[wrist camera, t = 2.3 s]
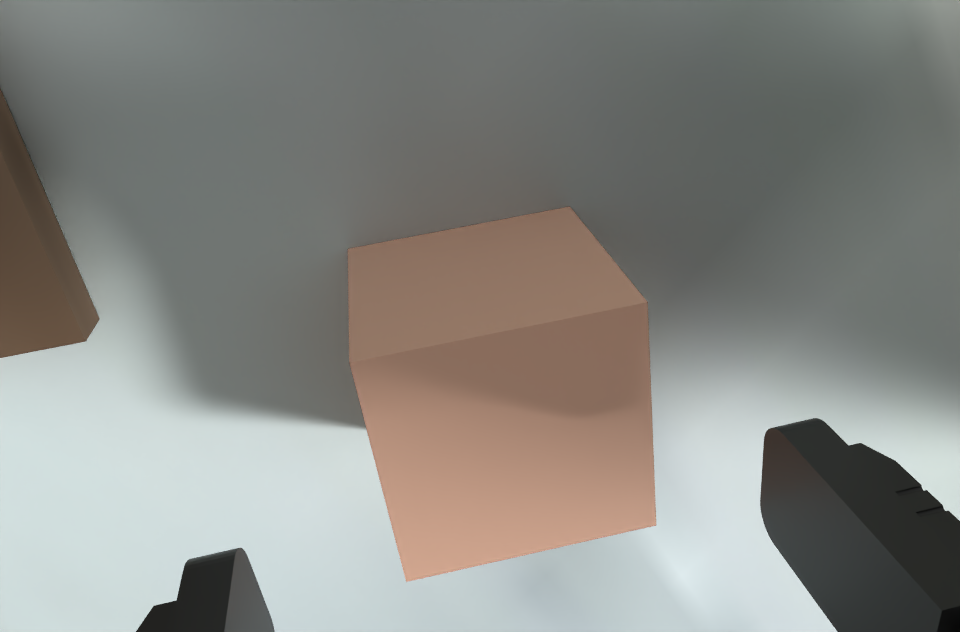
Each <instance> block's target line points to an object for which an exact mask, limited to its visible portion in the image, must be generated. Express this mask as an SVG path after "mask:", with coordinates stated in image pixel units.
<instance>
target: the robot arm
mask: <svg viewBox="0 0 960 632" xmlns="http://www.w3.org/2000/svg"><path fill="white" fill-rule="evenodd" d="M921 486H922V485H921V484H919V483H918V482H917V481H916V480H915V479H914V478H913V477H912V476H911V475H910V474H909V473H908V472H907V471H906V470H905V469H903V468H902V467H901V466H900V465H899V464H898V463H897V462H896V461H894V460H893V459H891V458H889V457H887V456H885V455H883V454H881V453H879V452H877V451H875V450H873V449H871V448H869V447H867V446H865V445H864V444H862V443H858V444H854V445H850V446H848V445H847V444H846V443H845V442H844V441H843V440H842V439H841V438H840V437H839V436H838V435H837V434H836V433H835V432H834V431H833V430H832V429H831V428H830V427H829V426H828V425H827V424H826V423H825V422H824V421H822V420H820V419H818V418H813V419H809V420H805V421H800V422H796V423H791V424H787V425H783V426H778V427H774V428H770V429H768V430H767V432H766V434H765V437H764V450H763V466H762V483H761V499H760V506H761V513H762V518H763V521H764V525H765V527H766V530H767V532H768V534H769V536H770V538H771V540H772V542H773V543H774V545H775V546H776V548H777V549H778V550H779V552H780V553H781V554H782V556H783V557H784V559H785V560H786V561H787V563H788V564H789V566H790V567H791V568H792V570H793V571H794V572H795V574H796V575H797V577H798V578H799V579H800V581H801V582H802V583H803V585H804V586H805V588H806V589H807V590H808V592H809V593H810V594H811V596H812V597H813V599H814V600H815V601H816V603H817V604H818V605H819V607H820V608H821V610H822V611H823V612H824V614H825V615H826V616H827V618H828V619H829V621H830V622H831V623H832V625H833V626H834V627H835V629H836V630H837V632H960V521H959V520H958V519H957V518H956V517H955V516H954V515H953V514H951V513H950V512H949V511H945V510H944V509H943V505H942V504H941V503H940V502H939V501H938V500H937V499H935V498H934V497H933V496H932V495H931V494H930V493H929V492H928V491H927V490H926V491H923V489H922V487H921ZM136 632H274V627H273V623H272V619H271V616H270V614H269V611H268V608H267V606H266V603H265V601H264V598H263V595H262V593H261V590H260V588H259V585H258V582H257V580H256V577H255V575H254V572H253V569H252V567H251V564H250V562H249V559H248V557H247V554H246V553H245V551H244V550H243V549H242V548H237V549H232V550H228V551H223V552H219V553H215V554H210V555H206V556H202V557H197V558H193V559H189V560H188V561H187V562H186V564H185V566H184V570H183V574H182V579H181V583H180V588H179V592H178V597H177V601H173V602H169V603H164V604H160V605H156V606H153V608H152V609H151V611H150V612H149V614H148V615H147V617H146V618H145V619H144V621H143V622H142V624H141V625H140V627H139V628H138V630H137V631H136Z"/></svg>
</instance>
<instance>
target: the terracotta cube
mask: <svg viewBox="0 0 960 632" xmlns="http://www.w3.org/2000/svg"><path fill="white" fill-rule="evenodd" d="M348 307H349V364H350V367H351V371H352V375H353V379H354V383H355V387H356V390H357V394H358V398H359V402H360V406H361V410H362V413H363V417H364V421H365V425H366V429H367V433H368V436H369V440H370V444H371V448H372V452H373V456H374V459H375V463H376V467H377V471H378V475H379V479H380V482H381V486H382V490H383V494H384V498H385V502H386V506H387V509H388V513H389V517H390V521H391V525H392V529H393V532H394V536H395V540H396V544H397V548H398V552H399V555H400V559H401V563H402V567H403V571H404V575H405V578H406V582H408V581H412V580H417V579H421V578H425V577H430V576H434V575H439V574H443V573H448V572H452V571H456V570H461V569H465V568H470V567H474V566H478V565H483V564H487V563H492V562H496V561H501V560H505V559H509V558H514V557H518V556H523V555H527V554H532V553H536V552H540V551H545V550H549V549H554V548H558V547H562V546H567V545H571V544H576V543H580V542H585V541H589V540H593V539H598V538H602V537H607V536H611V535H616V534H620V533H624V532H629V531H633V530H638V529H642V528H646V527H651V526H655V525H656V507H655V481H654V455H653V429H652V402H651V376H650V350H649V324H648V302H647V301H646V300H645V298H644V297H643V296H642V295H641V293H640V292H639V291H638V290H637V288H636V287H635V286H634V285H633V284H632V282H631V281H630V280H629V279H628V277H627V276H626V275H625V274H624V272H623V271H622V270H621V269H620V268H619V266H618V265H617V264H616V263H615V261H614V260H613V259H612V258H611V256H610V255H609V254H608V253H607V252H606V250H605V249H604V248H603V247H602V245H601V244H600V243H599V242H598V241H597V239H596V238H595V237H594V236H593V234H592V233H591V232H590V231H589V229H588V228H587V227H586V226H585V225H584V223H583V222H582V221H581V220H580V218H579V217H578V216H577V215H576V213H575V212H574V211H573V210H572V209H571V207H570V206H569V207H564V208H559V209H554V210H549V211H543V212H538V213H533V214H528V215H522V216H517V217H512V218H507V219H501V220H496V221H491V222H486V223H480V224H475V225H470V226H465V227H459V228H454V229H449V230H444V231H438V232H433V233H428V234H423V235H417V236H412V237H407V238H402V239H396V240H391V241H386V242H381V243H375V244H370V245H365V246H360V247H354V248H349V249H348Z"/></svg>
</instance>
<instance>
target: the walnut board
mask: <svg viewBox="0 0 960 632" xmlns="http://www.w3.org/2000/svg"><path fill="white" fill-rule="evenodd" d="M98 321H99V317H98V314H97V312H96V310H95V307H94V305H93V303H92V300H91V298H90V296H89V293H88V291H87V289H86V286H85V284H84V282H83V279H82V277H81V275H80V272H79V270H78V268H77V265H76V263H75V261H74V258H73V256H72V254H71V251H70V249H69V247H68V244H67V242H66V240H65V238H64V235H63V233H62V231H61V228H60V226H59V224H58V221H57V219H56V217H55V214H54V212H53V210H52V207H51V205H50V203H49V200H48V198H47V196H46V193H45V191H44V189H43V186H42V184H41V182H40V179H39V177H38V175H37V172H36V170H35V168H34V165H33V163H32V161H31V158H30V156H29V154H28V152H27V149H26V147H25V145H24V142H23V140H22V138H21V135H20V133H19V131H18V128H17V126H16V124H15V121H14V119H13V117H12V114H11V112H10V110H9V107H8V105H7V103H6V100H5V98H4V96H3V93H2V91H1V89H0V358H3V357H8V356H13V355H18V354H23V353H28V352H33V351H38V350H44V349H49V348H54V347H59V346H64V345H69V344H74V343H80V342H85V341H86V340H87V338H88V337H89V335H90V334H91V332H92V330H93V329H94V327H95V326H96V324H97V322H98Z"/></svg>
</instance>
